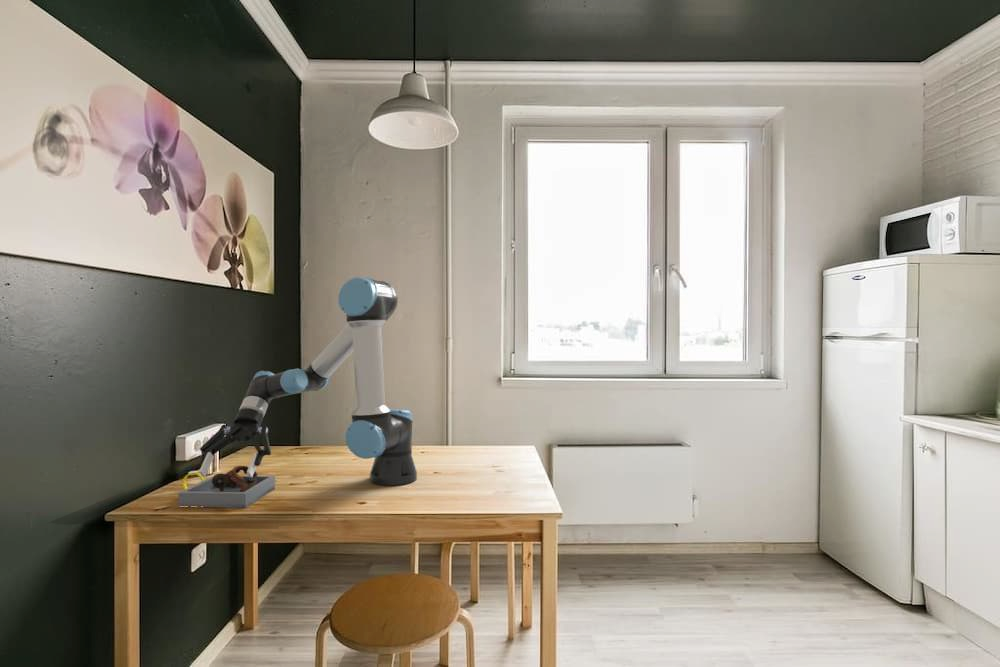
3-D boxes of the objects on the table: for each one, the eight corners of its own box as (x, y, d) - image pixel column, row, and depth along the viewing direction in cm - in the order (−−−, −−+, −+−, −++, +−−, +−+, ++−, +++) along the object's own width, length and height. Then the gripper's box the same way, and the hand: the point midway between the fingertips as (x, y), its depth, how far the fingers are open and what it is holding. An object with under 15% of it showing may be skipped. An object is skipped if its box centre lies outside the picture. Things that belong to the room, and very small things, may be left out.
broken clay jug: (243, 486, 165) (255, 463, 165) (252, 506, 159) (264, 483, 158) (202, 483, 157) (215, 460, 156) (210, 505, 150) (223, 480, 149)
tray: (274, 489, 165) (274, 475, 165) (245, 508, 146) (245, 493, 146) (215, 488, 165) (215, 475, 165) (178, 507, 146) (178, 492, 146)
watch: (181, 493, 160) (180, 473, 160) (186, 491, 163) (185, 471, 163) (202, 492, 161) (200, 472, 161) (206, 489, 163) (205, 469, 163)
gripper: (294, 421, 171) (273, 481, 156) (216, 421, 171) (187, 481, 156) (287, 407, 166) (265, 468, 151) (206, 406, 166) (176, 467, 151)
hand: (225, 474), depth 153 cm, fingers open, 13 cm apart
